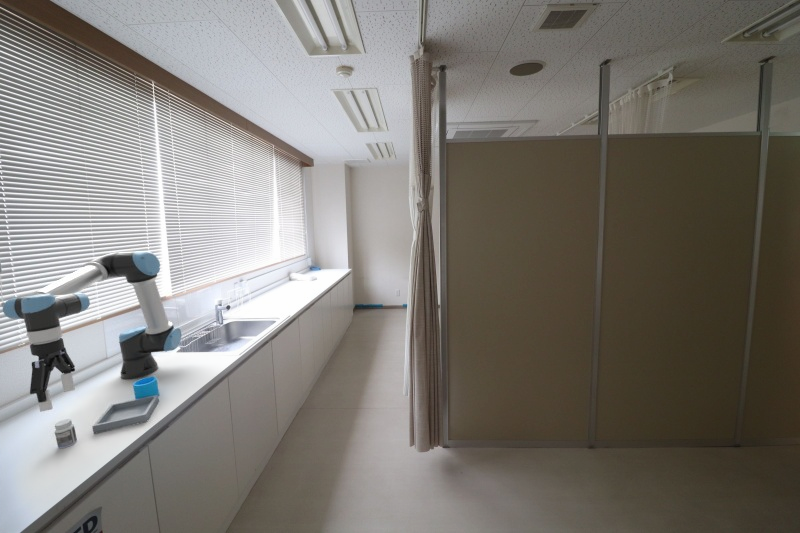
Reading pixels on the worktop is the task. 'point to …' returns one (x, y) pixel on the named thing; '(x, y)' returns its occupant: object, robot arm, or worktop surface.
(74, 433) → the pill bottle
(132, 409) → the tray
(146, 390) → the mug
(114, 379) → the worktop surface
